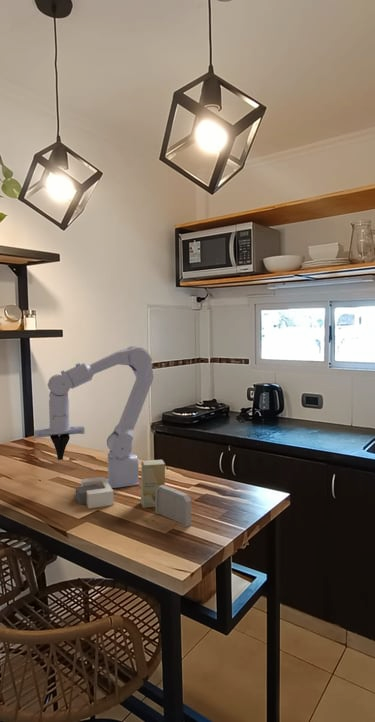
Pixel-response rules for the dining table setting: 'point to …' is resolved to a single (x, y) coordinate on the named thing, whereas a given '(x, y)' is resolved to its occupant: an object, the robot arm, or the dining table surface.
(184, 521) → the light switch
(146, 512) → the dining table surface
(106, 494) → the socket block
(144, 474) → the skincare box
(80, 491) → the plug
